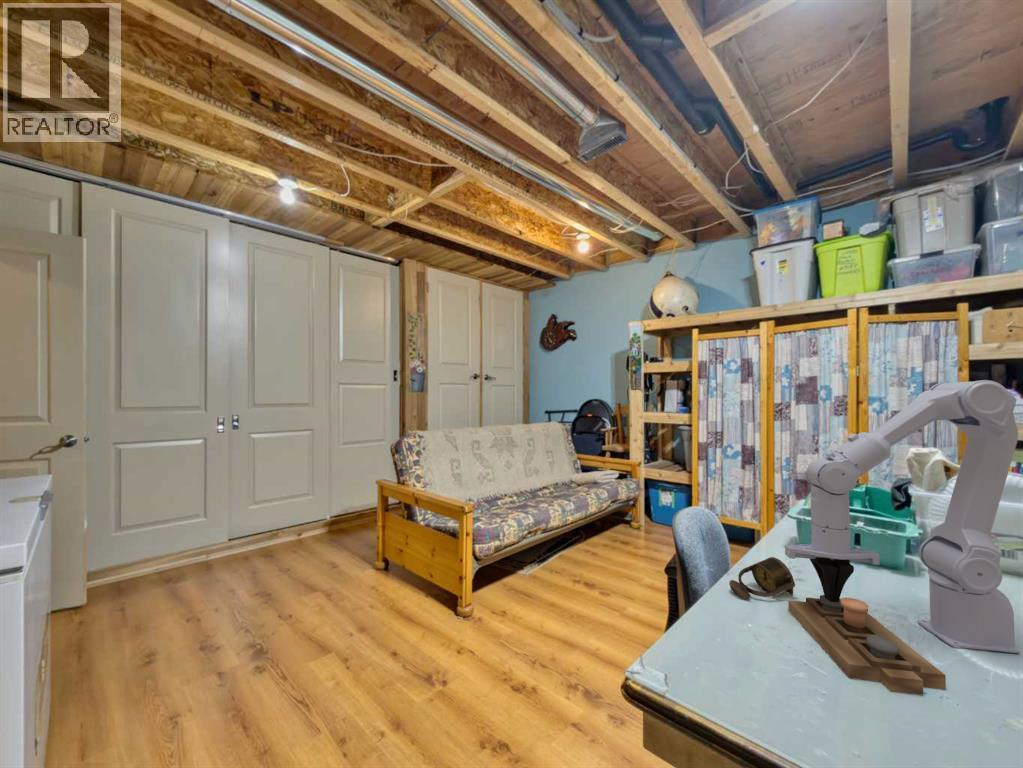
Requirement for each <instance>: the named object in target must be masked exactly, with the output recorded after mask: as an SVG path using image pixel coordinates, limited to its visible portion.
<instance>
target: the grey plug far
mask: <svg viewBox="0 0 1023 768" xmlns="http://www.w3.org/2000/svg"><path fill="white" fill-rule="evenodd" d="M819 599H820V603H821V604H822V608H823V609H824V610H825V611H832V612H842V610H841V609H843V608H844V607H842V606H841V598H840V599H839V602H830V601H829V600H828V599H826V598H825V596H824V594H821V595H819Z"/></svg>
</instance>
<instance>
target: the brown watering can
mask: <svg viewBox="0 0 1023 768" xmlns="http://www.w3.org/2000/svg"><path fill="white" fill-rule="evenodd" d="M749 572H751V573H752V574H751V575H752V576H753V579H754V580H755V582H756V584H757V586H758V587H759V588H760V589H761V590H762V591H759V590H755V589H753V588H751V587H749V586H747V585H746V584H745V583H744V582H743V581H742V576H744V574H746V573H749ZM737 576H738V578H737V579H738V581H737V580H733V579H730V580H729V582H728V583H729V587H730V590H731V591H732V593H733V594H735V595H736V596H737V597H738V596H739V598H740V597H741V598H740V599H744V600H749V599H751V597H752V595H754V596H756V597H757V596H758V597H763V598H768V597H769V598H770V597H774V596H776V595H777V596H778V595H779V594H781V593H783V592H786V593H787V594H789V595H791V596H794V588H795V587H796V583H795V581H794V576H793V575H792V572H791V571H790V569H789V568H788V566H787V565H786V564H785V563H784V562H783V561H782V560H780V559H779V558H777V557H775V556H771V557H767V558H766V559H764V560H761V561H758V562H756V563H754V564H752V565H749V566H747V567H744V568H743V569H741V570H740V571H739V574H738V575H737Z"/></svg>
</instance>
